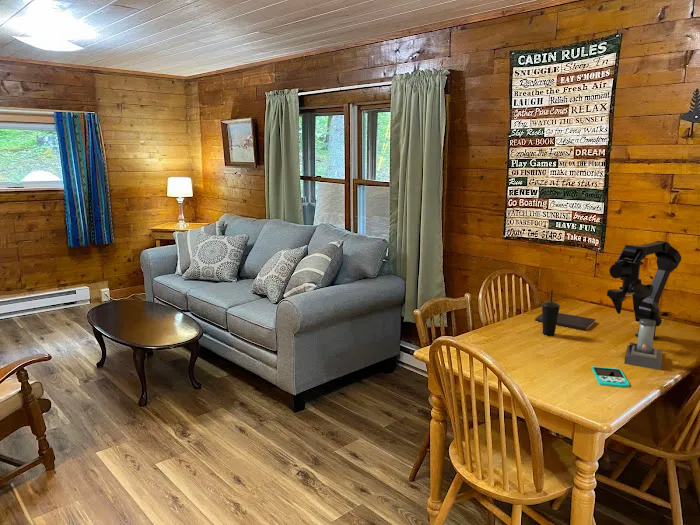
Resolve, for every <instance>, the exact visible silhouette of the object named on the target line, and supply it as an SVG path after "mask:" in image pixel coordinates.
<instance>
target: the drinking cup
mask: <svg viewBox="0 0 700 525" xmlns="http://www.w3.org/2000/svg"><path fill="white" fill-rule="evenodd" d="M553 293H554V289H553V290H552V289H551V290H550V299H549V300H550V301H549V300H548V301H544V302H541V309H542V310H541V311H542V312H541V314H542V323H541V324H542V335H543V334H544V335H543V336H545V335H547V336H546V337H554V336H555V334H556V329H557V326H556V323H557V318H558V313H560V307H561V305H560V303H558V302H555V301H553V296H554V295H553Z"/></svg>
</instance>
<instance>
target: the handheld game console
mask: <svg viewBox="0 0 700 525" xmlns="http://www.w3.org/2000/svg"><path fill="white" fill-rule="evenodd" d="M591 370H592V372H593V375H594V377H595V378H596V381H597V383H598V385H599V386H605V387H613V388H614V387H616V388H629V387H630V386H631V385H630V383H629V382H630V381H629V380H628V379H627V377H626V376H625V374H624V373H623V371H622V369H621V368H613V367H602V366H593V365H592V366H591Z"/></svg>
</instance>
